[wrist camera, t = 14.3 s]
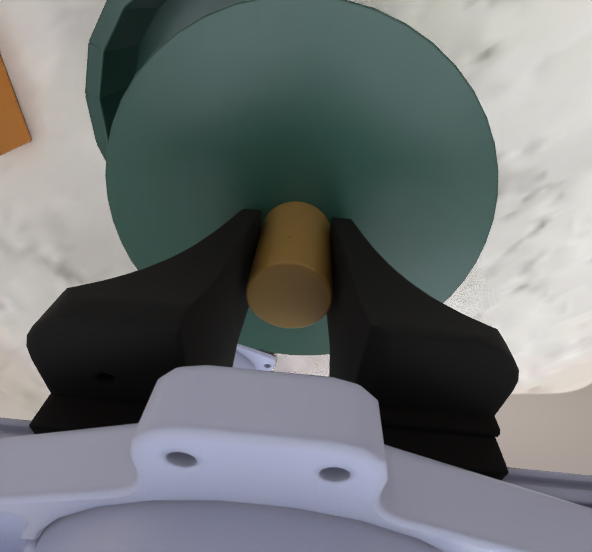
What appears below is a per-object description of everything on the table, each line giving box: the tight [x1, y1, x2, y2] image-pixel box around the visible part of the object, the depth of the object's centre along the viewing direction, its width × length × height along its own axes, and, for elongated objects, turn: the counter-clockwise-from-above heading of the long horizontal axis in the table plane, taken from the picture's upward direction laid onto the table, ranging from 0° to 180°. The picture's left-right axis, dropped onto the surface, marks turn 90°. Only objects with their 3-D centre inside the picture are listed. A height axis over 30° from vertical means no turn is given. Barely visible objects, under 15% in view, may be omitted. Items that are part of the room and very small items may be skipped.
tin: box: [85, 0, 247, 160], centre depth 16 cm, size 12×12×4 cm
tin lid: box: [106, 0, 498, 355], centre depth 12 cm, size 13×13×5 cm
